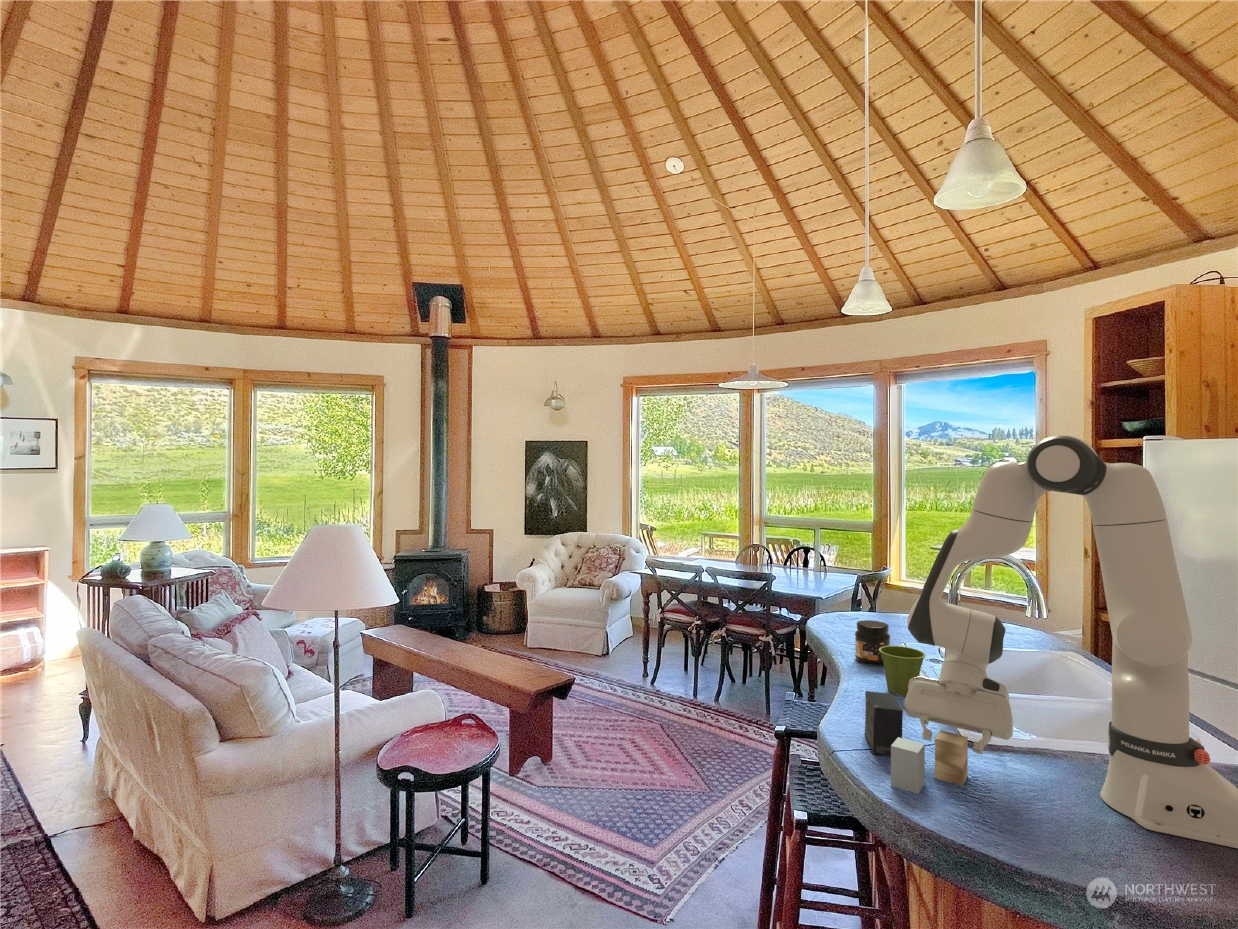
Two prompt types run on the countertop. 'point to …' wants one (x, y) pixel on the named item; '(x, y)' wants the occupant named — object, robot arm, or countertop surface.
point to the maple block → (951, 757)
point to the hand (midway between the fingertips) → (951, 745)
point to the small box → (882, 721)
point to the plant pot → (901, 667)
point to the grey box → (908, 765)
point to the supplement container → (871, 641)
